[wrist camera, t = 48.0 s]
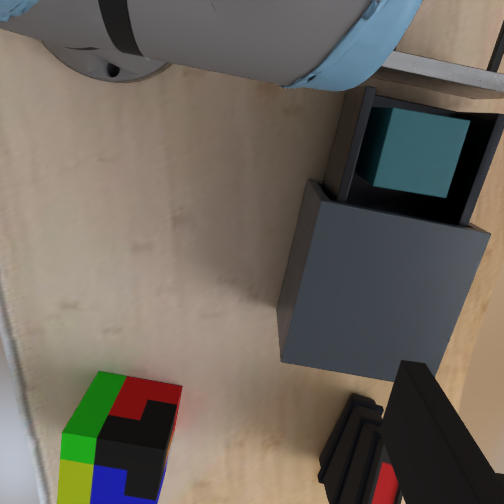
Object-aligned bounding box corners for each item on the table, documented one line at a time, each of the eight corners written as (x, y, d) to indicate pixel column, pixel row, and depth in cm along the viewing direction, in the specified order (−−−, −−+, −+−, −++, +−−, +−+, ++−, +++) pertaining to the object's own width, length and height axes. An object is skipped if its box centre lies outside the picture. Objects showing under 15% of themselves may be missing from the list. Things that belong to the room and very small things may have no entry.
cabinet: (307, 178, 43) (321, 200, 33) (439, 204, 43) (491, 234, 34) (276, 309, 47) (280, 362, 38) (395, 331, 48) (430, 388, 38)
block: (354, 172, 40) (372, 186, 34) (370, 106, 38) (393, 107, 32) (415, 183, 41) (446, 198, 34) (434, 118, 39) (470, 120, 32)
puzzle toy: (170, 450, 54) (152, 523, 45) (92, 437, 54) (56, 508, 44) (182, 386, 51) (165, 450, 42) (99, 370, 50) (62, 432, 41)
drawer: (364, -26, 36) (393, -63, 28) (506, 5, 37) (574, -22, 29) (308, 203, 43) (320, 226, 35) (430, 227, 43) (468, 254, 35)
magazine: (307, 486, 54) (349, 561, 39) (336, 383, 55) (387, 417, 40) (335, 494, 54) (386, 572, 39) (363, 392, 56) (423, 428, 41)
